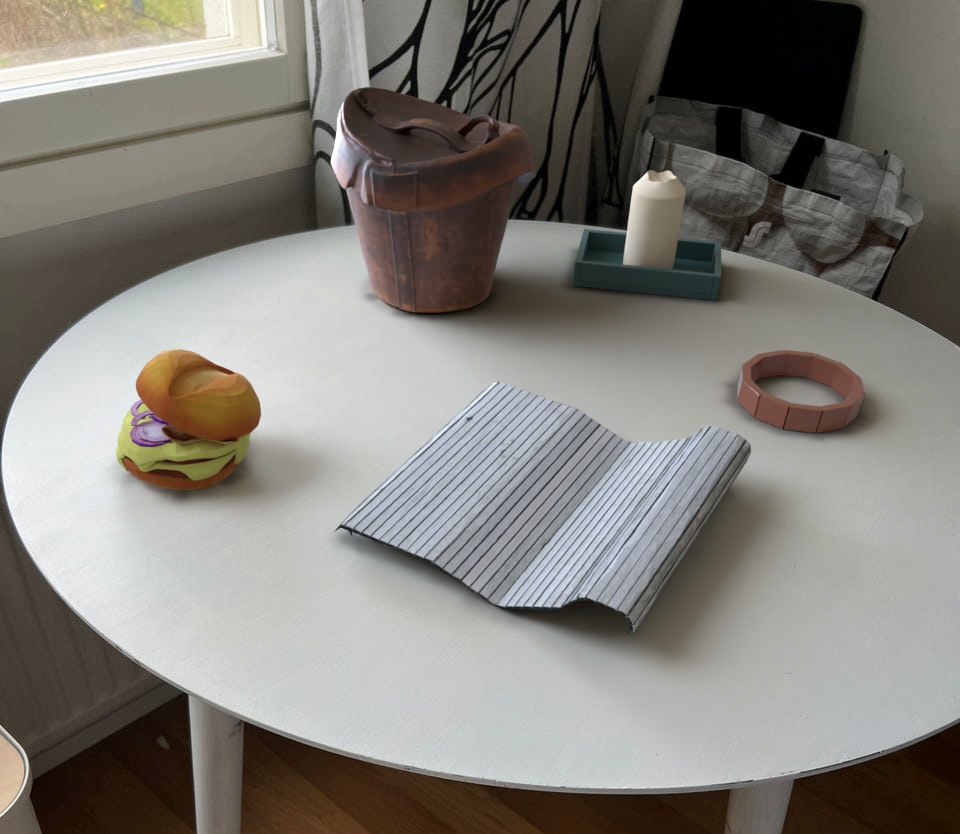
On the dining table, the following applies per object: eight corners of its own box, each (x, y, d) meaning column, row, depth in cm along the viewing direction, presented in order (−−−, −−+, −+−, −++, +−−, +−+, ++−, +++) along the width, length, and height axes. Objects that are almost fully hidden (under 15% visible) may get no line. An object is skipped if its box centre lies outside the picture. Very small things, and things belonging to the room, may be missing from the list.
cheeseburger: (122, 431, 80) (125, 319, 73) (252, 449, 83) (265, 343, 77) (109, 500, 72) (111, 383, 66) (252, 517, 76) (267, 406, 69)
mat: (487, 405, 84) (489, 356, 81) (741, 488, 77) (755, 437, 73) (332, 544, 70) (327, 492, 67) (627, 664, 62) (637, 611, 59)
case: (548, 319, 97) (563, 127, 84) (352, 335, 93) (338, 137, 81) (504, 249, 109) (512, 72, 97) (330, 261, 106) (315, 79, 93)
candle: (612, 270, 104) (624, 174, 97) (639, 255, 107) (653, 161, 100) (654, 285, 102) (670, 187, 95) (681, 269, 105) (698, 173, 98)
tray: (716, 265, 108) (721, 241, 106) (716, 300, 101) (721, 276, 99) (581, 251, 109) (583, 228, 107) (572, 285, 103) (574, 262, 101)
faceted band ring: (850, 378, 90) (857, 357, 88) (861, 438, 82) (869, 416, 81) (736, 366, 91) (741, 344, 89) (737, 424, 83) (743, 401, 82)
